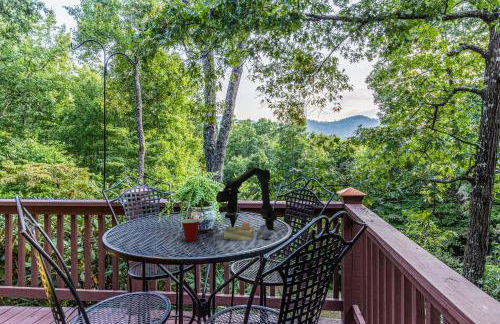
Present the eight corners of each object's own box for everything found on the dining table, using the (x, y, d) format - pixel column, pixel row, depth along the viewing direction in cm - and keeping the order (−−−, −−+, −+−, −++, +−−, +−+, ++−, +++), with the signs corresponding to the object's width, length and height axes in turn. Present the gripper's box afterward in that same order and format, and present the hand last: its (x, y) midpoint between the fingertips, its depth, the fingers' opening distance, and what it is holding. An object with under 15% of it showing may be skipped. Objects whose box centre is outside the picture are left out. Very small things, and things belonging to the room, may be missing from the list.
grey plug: (229, 234, 190) (229, 226, 189) (236, 234, 189) (236, 226, 189) (228, 236, 186) (228, 227, 185) (235, 236, 185) (235, 228, 185)
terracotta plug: (243, 229, 188) (243, 221, 188) (249, 230, 188) (249, 221, 188) (242, 231, 184) (242, 223, 184) (248, 231, 184) (248, 223, 184)
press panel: (227, 233, 194) (227, 226, 194) (253, 234, 192) (253, 226, 192) (224, 239, 182) (224, 231, 182) (251, 240, 180) (251, 232, 180)
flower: (255, 230, 178) (268, 220, 182) (251, 232, 186) (264, 223, 190) (264, 244, 177) (277, 234, 181) (259, 246, 184) (272, 236, 188)
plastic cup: (191, 236, 188) (191, 216, 187) (203, 240, 181) (203, 219, 180) (176, 240, 179) (176, 219, 179) (189, 244, 172) (189, 222, 172)
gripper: (222, 198, 197) (222, 222, 197) (216, 203, 178) (216, 230, 179) (240, 198, 195) (240, 223, 196) (235, 204, 177) (235, 231, 177)
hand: (232, 227), depth 187 cm, fingers closed, pressing on grey plug
